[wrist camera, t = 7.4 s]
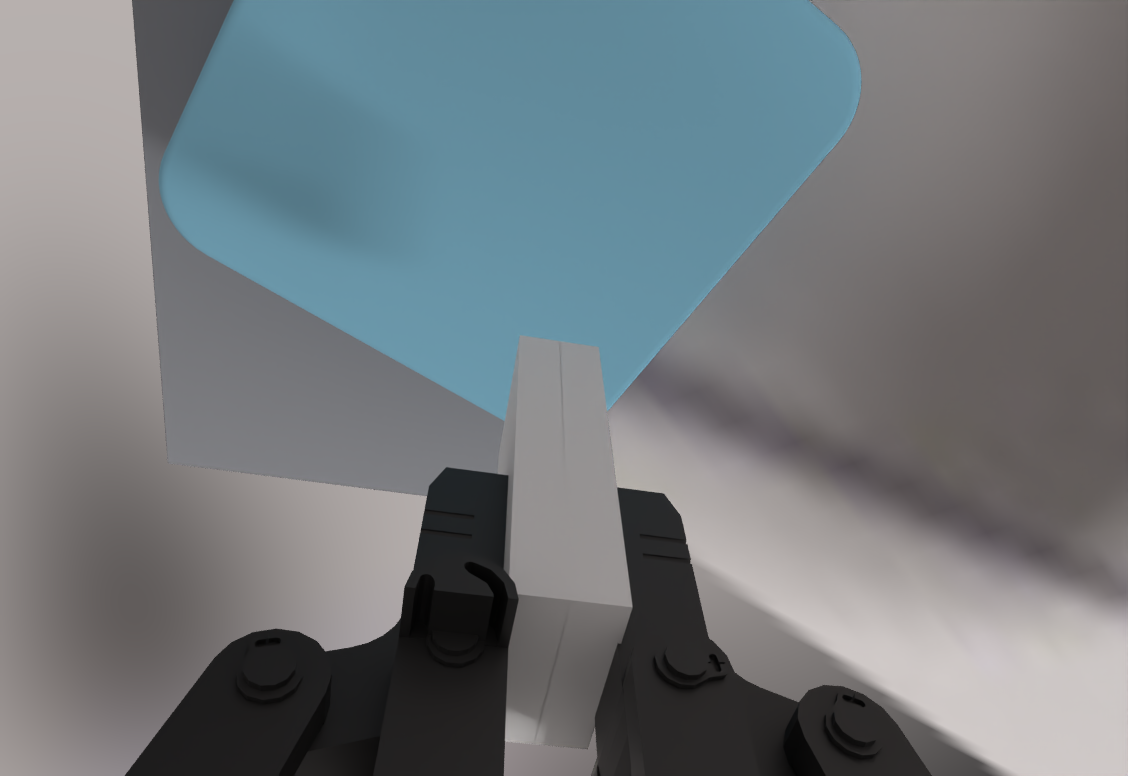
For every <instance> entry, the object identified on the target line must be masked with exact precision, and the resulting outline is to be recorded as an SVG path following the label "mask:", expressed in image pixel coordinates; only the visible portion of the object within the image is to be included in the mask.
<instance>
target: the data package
mask: <svg viewBox="0 0 1128 776" xmlns="http://www.w3.org/2000/svg"><path fill="white" fill-rule="evenodd" d="M860 93H861V69H860V64H859V60H858V57H857V54H856V51H855V49H854V47H853V45H852V43H851V41H850V40H849V38H848V37H847V35H846V34H845V33H844V32H843V31H842V30H841V29H840V28H839V27H838V26H837V25H836V24H835V23H834V22H833V21H832V20H830V19H829V18H828V17H827V16H826V15H825V14H824V13H822V12H821V11H820V10H819V9H818V8H817V7H815V6H814V5H813V4H812V3H811V2H810V1H809V0H234V1H233V3H232V5H231V7H230V9H229V12H228V14H227V16H226V18H225V20H224V23H223V25H222V27H221V29H220V31H219V34H218V36H217V38H216V40H215V42H214V45H213V47H212V49H211V51H210V53H209V56H208V58H207V60H206V62H205V64H204V67H203V69H202V71H201V73H200V75H199V78H198V80H197V82H196V84H195V86H194V89H193V91H192V93H191V95H190V97H189V100H188V102H187V104H186V106H185V108H184V111H183V113H182V115H181V117H180V119H179V122H178V124H177V126H176V128H175V130H174V133H173V135H172V137H171V139H170V141H169V144H168V146H167V148H166V150H165V152H164V155H163V158H162V160H161V164H160V169H159V190H160V195H161V199H162V203H163V205H164V208H165V211H166V213H167V214H168V216H169V218H170V220H171V222H172V223H173V225H174V226H175V228H176V229H177V230H178V231H179V233H180V234H181V235H182V236H183V237H184V238H185V239H186V240H187V241H188V242H189V243H190V244H191V245H193V246H194V247H195V248H197V249H198V250H199V251H201V252H203V253H204V254H206V255H207V256H209V257H211V258H213V259H215V260H216V261H218V262H220V263H222V264H224V265H225V266H227V267H229V268H231V269H233V270H234V271H236V272H238V273H240V274H241V275H243V276H245V277H247V278H249V279H250V280H252V281H254V282H256V283H258V284H259V285H261V286H263V287H265V288H267V289H268V290H270V291H272V292H274V293H276V294H277V295H279V296H281V297H283V298H285V299H286V300H288V301H290V302H292V303H293V304H295V305H297V306H299V307H301V308H302V309H304V310H306V311H308V312H310V313H311V314H313V315H315V316H317V317H319V318H320V319H322V320H324V321H326V322H328V323H329V324H331V325H333V326H335V327H337V328H338V329H340V330H342V331H344V332H345V333H347V334H349V335H351V336H353V337H354V338H356V339H358V340H360V341H362V342H363V343H365V344H367V345H369V346H371V347H372V348H374V349H376V350H378V351H380V352H381V353H383V354H385V355H387V356H389V357H390V358H392V359H394V360H396V361H398V362H399V363H401V364H403V365H405V366H406V367H408V368H410V369H412V370H414V371H415V372H417V373H419V374H421V375H423V376H424V377H426V378H428V379H430V380H432V381H433V382H435V383H437V384H439V385H441V386H442V387H444V388H446V389H448V390H450V391H451V392H453V393H455V394H457V395H458V396H460V397H462V398H464V399H466V400H467V401H469V402H471V403H473V404H475V405H476V406H478V407H480V408H482V409H484V410H485V411H487V412H489V413H491V414H493V415H494V416H496V417H498V418H500V419H502V420H503V421H505V417H506V411H507V405H508V400H509V394H510V388H511V383H512V377H513V371H514V366H515V360H516V354H517V349H518V343H519V337H520V335H522V336H529V337H536V338H542V339H549V340H555V341H562V342H569V343H575V344H582V345H588V346H595V347H599V353H600V361H601V369H602V376H603V384H604V392H605V399H606V407H607V411H608V410H609V409H610V408H611V407H612V406H613V404H614V403H615V402H616V401H617V400H618V399H619V397H620V396H621V395H622V394H623V393H624V392H625V390H626V389H627V388H628V387H629V386H630V385H631V383H632V382H633V381H634V380H635V379H636V378H637V376H638V375H639V374H640V373H641V372H642V371H643V369H644V368H645V367H646V366H647V365H648V364H649V362H650V361H651V360H652V359H653V358H654V357H655V355H656V354H657V353H658V352H659V351H660V350H661V348H662V347H663V346H664V345H665V344H666V343H667V341H668V340H669V339H670V338H671V337H672V336H673V334H674V333H675V332H676V331H677V330H678V329H679V327H680V326H681V325H682V324H683V323H684V322H685V320H686V319H687V318H688V317H689V316H690V315H691V313H692V312H693V311H694V310H695V309H696V308H697V306H698V305H699V304H700V303H701V302H702V301H703V299H704V298H705V297H706V296H707V295H708V294H709V292H710V291H711V290H712V289H713V288H714V286H715V285H716V284H717V283H718V282H719V281H720V279H721V278H722V277H723V276H724V275H725V274H726V272H727V271H728V270H729V269H730V268H731V267H732V265H733V264H734V263H735V262H736V261H737V260H738V258H739V257H740V256H741V255H742V254H743V253H744V251H745V250H746V249H747V248H748V247H749V246H750V244H751V243H752V242H753V241H754V240H755V239H756V237H757V236H758V235H759V234H760V233H761V232H762V230H763V229H764V228H765V227H766V226H767V225H768V223H769V222H770V221H771V220H772V219H773V218H774V216H775V215H776V214H777V213H778V212H779V211H780V209H781V208H782V207H783V206H784V205H785V204H786V202H787V201H788V200H789V199H790V198H791V197H792V195H793V194H794V193H795V192H796V191H797V190H798V188H799V187H800V186H801V185H802V184H803V183H804V181H805V180H806V179H807V178H808V177H809V176H810V174H811V173H812V172H813V171H814V170H815V169H816V167H817V166H818V165H819V164H820V163H821V162H822V160H823V159H824V158H825V157H826V156H827V155H828V153H829V152H830V151H831V150H832V149H833V148H834V146H835V145H836V144H837V143H838V142H839V140H840V139H841V138H842V136H843V135H844V134H845V132H846V131H847V129H848V127H849V126H850V124H851V122H852V120H853V117H854V115H855V113H856V110H857V107H858V103H859V98H860Z"/></svg>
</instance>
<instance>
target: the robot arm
mask: <svg viewBox="0 0 1128 776" xmlns="http://www.w3.org/2000/svg"><path fill="white" fill-rule="evenodd" d="M690 560H691V558H690V554H689V550H688V545H687V544H686V536H685V532H684V528H683V523H682V519H681V516H680V514H679V513H678V512H677V510H676V509H675V508H674V506H673V505H672V504H671V502H670V501H669V500H668V498H667V497H666V496H665V495H664V494H663V493H655V492H648V491H640V490H632V489H625V488H617V484H616V476H615V468H614V461H613V453H612V445H611V438H610V430H609V422H608V415H607V407H606V399H605V392H604V384H603V376H602V369H601V361H600V353H599V347H595V346H588V345H582V344H575V343H569V342H562V341H555V340H549V339H542V338H536V337H529V336H522V335H520V337H519V343H518V349H517V354H516V360H515V366H514V371H513V377H512V383H511V388H510V394H509V400H508V405H507V411H506V417H505V422H504V428H503V434H502V439H501V445H500V451H499V461H498V474H495V473H487V472H480V471H472V470H464V469H457V468H449V467H446V468H445V469H444V470H443V471H442V472H441V473H440V474H439V475H438V477H437V478H436V479H435V480H434V481H433V482H432V483H431V484H430V485H429V489H428V494H427V500H426V505H425V511H424V516H423V521H422V527H421V533H420V537H419V543H418V549H417V554H416V559H415V564H414V570H413V571H412V573H411V575H410V577H409V579H408V581H407V583H406V585H405V588H404V598H403V605H402V614H401V619H400V620H399V622H398V623H397V624H396V625H395V626H394V627H393V628H392V629H391V630H390V631H388V632H387V633H386V634H384V635H383V636H381V637H379V638H377V639H375V640H373V641H371V642H369V643H366V644H362V645H358V646H354V647H350V648H344V649H338V650H332V651H326V652H325V651H324V649H323V648H322V647H321V646H320V644H319V643H318V642H317V641H315V640H314V639H312V638H310V637H308V636H306V635H304V634H302V633H300V632H296V631H289V630H282V629H272V630H265V631H259V632H253V633H251V634H248V635H246V636H244V637H242V638H240V639H238V640H235V641H233V642H231V643H230V644H229V645H228V646H227V647H226V648H225V649H224V650H222V651H221V653H219V654H218V655H217V656H216V657H215V658H214V659H213V661H212V662H211V663H210V664H209V666H208V667H207V668H206V670H205V671H204V672H203V674H202V675H201V676H200V678H199V679H198V680H197V682H196V683H195V684H194V685H193V687H192V688H191V689H190V691H189V692H188V693H187V695H186V696H185V697H184V699H183V700H182V701H181V703H180V704H179V705H178V706H177V708H176V709H175V711H174V712H173V713H172V714H171V716H170V717H169V718H168V720H167V721H166V722H165V724H164V725H163V726H162V727H161V729H160V730H159V731H158V733H157V734H156V735H155V737H154V738H153V739H152V741H151V742H150V743H149V745H148V746H147V747H146V749H145V750H144V751H143V753H142V754H141V755H140V756H139V758H138V759H137V760H136V762H135V763H134V764H133V766H132V767H131V768H130V770H129V771H128V772H127V773H126V775H125V776H504V749H505V742H517V743H527V744H538V745H548V746H558V747H570V748H580V749H588V747H589V744H590V741H591V737H592V734H593V731H594V728H595V729H596V743H597V759H596V762H595V765H594V768H593V771H592V774H591V776H932V775H931V774H930V772H929V771H928V769H927V768H926V766H925V765H924V763H923V762H922V761H921V759H920V758H919V756H918V755H917V753H916V752H915V750H914V749H913V747H912V746H911V744H910V743H909V741H908V740H907V738H906V737H905V735H904V734H903V732H902V731H901V729H900V728H899V727H898V725H897V724H896V723H895V721H894V720H893V719H892V718H891V717H890V716H889V715H888V713H886V711H885V710H884V709H883V708H882V707H881V706H879V705H878V704H876V703H875V702H874V701H872V700H871V699H869V698H868V697H866V696H865V695H864V694H861V693H859V692H856V691H853V690H851V689H848V688H845V687H842V686H829V685H823V686H820V687H817V688H814V689H811V690H809V691H808V692H807V693H806V694H805V696H804V697H803V698H802V699H801V701H800V702H796V701H794V700H791V699H788V698H786V697H783V696H781V695H778V694H775V693H773V692H770V691H768V690H765V689H763V688H760V687H758V686H756V685H754V684H752V683H750V682H748V681H746V680H744V679H743V678H742V677H740V676H739V675H737V674H736V673H735V672H734V670H733V668H732V666H731V664H730V661H729V659H728V657H727V655H726V654H725V653H724V652H723V651H722V650H721V649H720V648H719V647H718V646H717V645H716V644H715V643H714V642H713V641H712V640H710V639H709V637H708V633H707V629H706V625H705V621H704V616H703V611H702V607H701V603H700V598H699V594H698V589H697V585H696V581H695V576H694V572H693V567H692V564H690Z"/></svg>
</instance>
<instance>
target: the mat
mask: <svg viewBox="0 0 1128 776" xmlns="http://www.w3.org/2000/svg"><path fill="white" fill-rule="evenodd" d="M233 1H234V0H132V5H133V17H134V30H135V43H136V56H137V69H138V82H139V95H140V108H141V120H142V134H143V147H144V160H145V173H146V185H147V199H148V212H149V224H150V238H151V251H152V264H153V277H154V290H155V303H156V316H157V328H158V342H159V354H160V368H161V380H162V393H163V406H164V420H165V433H166V446H167V459H168V463H170V464H178V465H187V466H194V467H202V468H210V469H217V470H225V471H233V472H241V473H250V474H256V475H264V476H272V477H280V478H288V479H296V480H305V481H312V482H319V483H328V484H335V485H343V486H352V487H359V488H367V489H374V490H383V491H391V492H398V493H406V494H414V495H422V496H427V494H428V489H429V485H430V484H431V483H432V482H433V481H434V480H435V479H436V478H437V477H438V475H439V474H440V473H441V472H442V471H443V470H444V469H445V468H446V467H449V468H457V469H464V470H472V471H480V472H487V473H495V474H498V461H499V451H500V445H501V439H502V434H503V428H504V422H505V421H503V420H502V419H500V418H498V417H496V416H494V415H493V414H491V413H489V412H487V411H485V410H484V409H482V408H480V407H478V406H476V405H475V404H473V403H471V402H469V401H467V400H466V399H464V398H462V397H460V396H458V395H457V394H455V393H453V392H451V391H450V390H448V389H446V388H444V387H442V386H441V385H439V384H437V383H435V382H433V381H432V380H430V379H428V378H426V377H424V376H423V375H421V374H419V373H417V372H415V371H414V370H412V369H410V368H408V367H406V366H405V365H403V364H401V363H399V362H398V361H396V360H394V359H392V358H390V357H389V356H387V355H385V354H383V353H381V352H380V351H378V350H376V349H374V348H372V347H371V346H369V345H367V344H365V343H363V342H362V341H360V340H358V339H356V338H354V337H353V336H351V335H349V334H347V333H345V332H344V331H342V330H340V329H338V328H337V327H335V326H333V325H331V324H329V323H328V322H326V321H324V320H322V319H320V318H319V317H317V316H315V315H313V314H311V313H310V312H308V311H306V310H304V309H302V308H301V307H299V306H297V305H295V304H293V303H292V302H290V301H288V300H286V299H285V298H283V297H281V296H279V295H277V294H276V293H274V292H272V291H270V290H268V289H267V288H265V287H263V286H261V285H259V284H258V283H256V282H254V281H252V280H250V279H249V278H247V277H245V276H243V275H241V274H240V273H238V272H236V271H234V270H233V269H231V268H229V267H227V266H225V265H224V264H222V263H220V262H218V261H216V260H215V259H213V258H211V257H209V256H207V255H206V254H204V253H203V252H201V251H199V250H198V249H197V248H195V247H194V246H193V245H191V244H190V243H189V242H188V241H187V240H186V239H185V238H184V237H183V236H182V235H181V234H180V233H179V231H178V230H177V229H176V228H175V226H174V225H173V223H172V222H171V220H170V218H169V216H168V214H167V213H166V211H165V208H164V205H163V203H162V199H161V195H160V190H159V169H160V164H161V160H162V158H163V155H164V152H165V150H166V148H167V146H168V144H169V141H170V139H171V137H172V135H173V133H174V130H175V128H176V126H177V124H178V122H179V119H180V117H181V115H182V113H183V111H184V108H185V106H186V104H187V102H188V100H189V97H190V95H191V93H192V91H193V89H194V86H195V84H196V82H197V80H198V78H199V75H200V73H201V71H202V69H203V67H204V64H205V62H206V60H207V58H208V56H209V53H210V51H211V49H212V47H213V45H214V42H215V40H216V38H217V36H218V34H219V31H220V29H221V27H222V25H223V23H224V20H225V18H226V16H227V14H228V12H229V9H230V7H231V5H232V3H233Z"/></svg>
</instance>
